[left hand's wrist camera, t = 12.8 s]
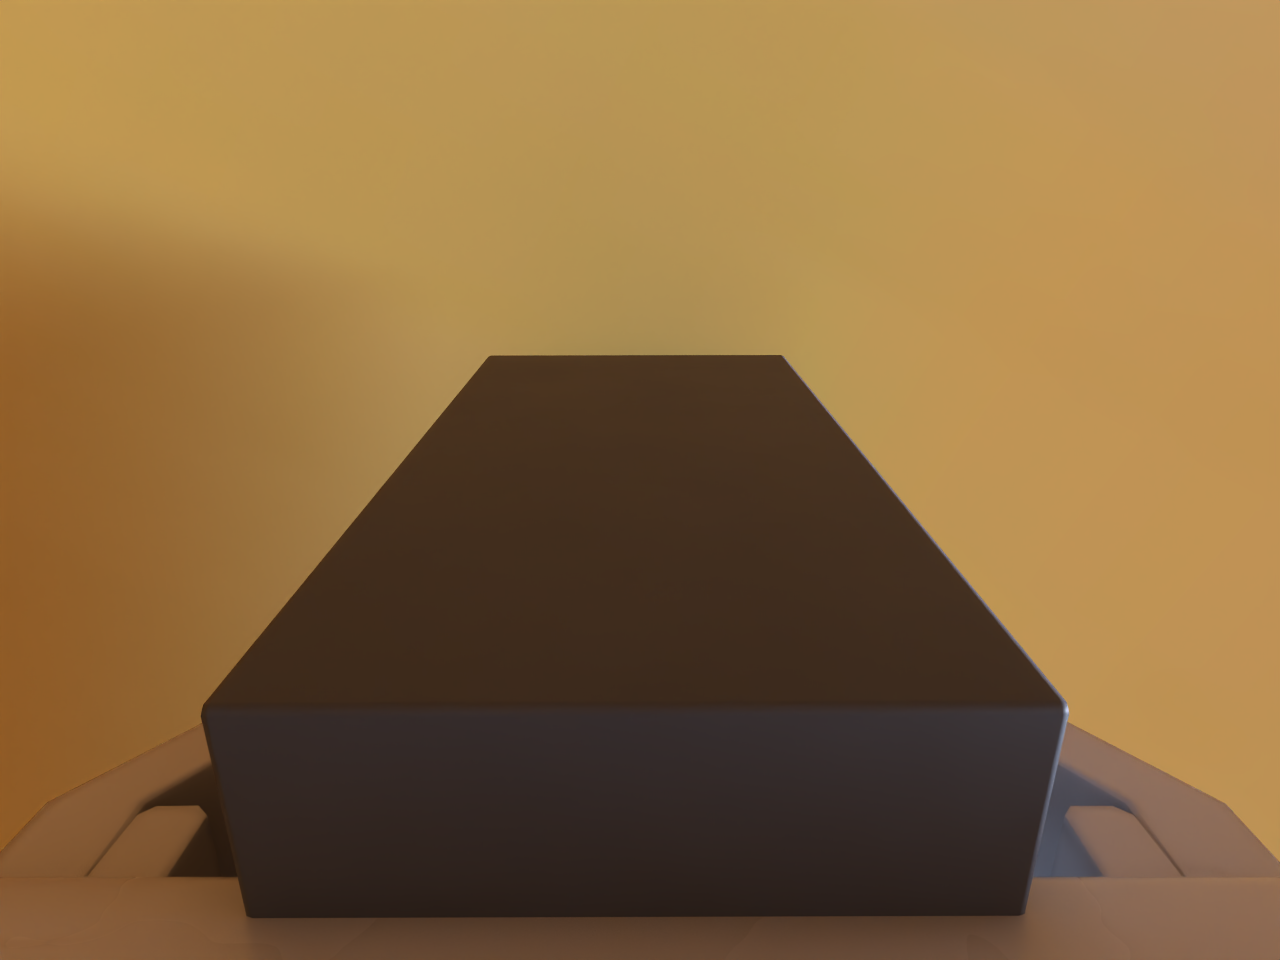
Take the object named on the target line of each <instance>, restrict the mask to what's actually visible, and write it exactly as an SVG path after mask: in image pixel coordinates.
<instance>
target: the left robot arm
mask: <svg viewBox="0 0 1280 960" xmlns="http://www.w3.org/2000/svg"><path fill="white" fill-rule="evenodd" d="M0 960H1280V862H1279V861H1278V860H1277V859H1276V858H1275V857H1274V856H1273V854H1272V853H1271V852H1270V851H1269V850H1268V849H1267V848H1266V847H1265V846H1264V845H1263V844H1262V843H1261V842H1260V840H1259V839H1258V838H1257V837H1256V836H1255V835H1254V834H1253V833H1252V832H1251V831H1250V830H1249V829H1248V828H1247V826H1246V825H1245V824H1244V823H1243V822H1242V821H1241V820H1240V819H1239V818H1238V817H1237V816H1236V815H1235V814H1234V812H1233V811H1232V810H1231V809H1230V808H1229V807H1228V806H1227V805H1226V804H1225V803H1223V802H1221V801H1219V800H1217V799H1215V798H1213V797H1212V796H1210V795H1208V794H1206V793H1204V792H1202V791H1200V790H1198V789H1196V788H1194V787H1192V786H1190V785H1188V784H1186V783H1184V782H1183V781H1181V780H1179V779H1177V778H1175V777H1173V776H1171V775H1169V774H1167V773H1165V772H1163V771H1161V770H1159V769H1157V768H1155V767H1154V766H1152V765H1150V764H1148V763H1146V762H1144V761H1142V760H1140V759H1138V758H1136V757H1134V756H1132V755H1130V754H1128V753H1126V752H1125V751H1123V750H1121V749H1119V748H1117V747H1115V746H1113V745H1111V744H1109V743H1107V742H1105V741H1103V740H1101V739H1099V738H1097V737H1096V736H1094V735H1092V734H1090V733H1088V732H1086V731H1084V730H1082V729H1080V728H1078V727H1076V726H1074V725H1072V724H1070V723H1068V722H1067V725H1066V729H1065V734H1064V738H1063V743H1062V747H1061V752H1060V756H1059V761H1058V766H1057V770H1056V775H1055V779H1054V784H1053V788H1052V793H1051V797H1050V802H1049V806H1048V811H1047V815H1046V820H1045V824H1044V829H1043V833H1042V838H1041V842H1040V847H1039V851H1038V856H1037V860H1036V865H1035V869H1034V874H1033V878H1032V883H1031V888H1030V892H1029V897H1028V901H1027V906H1026V910H1025V914H1022V915H1020V916H789V917H463V918H251V917H248V916H246V912H245V908H244V903H243V899H242V894H241V890H240V886H239V881H238V877H237V873H236V868H235V864H234V859H233V855H232V851H231V846H230V842H229V838H228V833H227V829H226V824H225V820H224V816H223V811H222V807H221V803H220V798H219V794H218V789H217V785H216V781H215V776H214V772H213V767H212V763H211V759H210V754H209V750H208V746H207V741H206V737H205V732H204V728H203V724H200V725H198V726H196V727H194V728H192V729H190V730H188V731H186V732H184V733H182V734H180V735H178V736H176V737H174V738H172V739H170V740H168V741H166V742H165V743H163V744H161V745H159V746H157V747H155V748H153V749H151V750H149V751H147V752H145V753H143V754H141V755H139V756H137V757H135V758H133V759H131V760H129V761H127V762H125V763H123V764H122V765H120V766H118V767H116V768H114V769H112V770H110V771H108V772H106V773H104V774H102V775H100V776H98V777H96V778H94V779H92V780H90V781H88V782H86V783H84V784H82V785H80V786H78V787H77V788H75V789H73V790H71V791H69V792H67V793H65V794H63V795H61V796H59V797H57V798H55V799H53V800H51V801H49V802H47V803H46V804H45V805H44V807H43V808H42V809H41V810H40V811H39V812H38V813H37V814H36V815H35V816H34V817H33V818H32V819H31V820H30V821H29V822H28V823H27V824H26V826H25V827H24V828H23V829H22V830H21V831H20V832H19V833H18V834H17V835H16V836H15V837H14V838H13V839H12V840H11V841H10V842H9V843H8V845H7V846H6V847H5V848H4V849H3V850H2V851H1V852H0Z"/></svg>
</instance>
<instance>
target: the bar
mask: <svg viewBox="0 0 1280 960" xmlns="http://www.w3.org/2000/svg"><path fill="white" fill-rule="evenodd" d="M1068 716H1069V711H1068V706H1067V702H1066V701H1065V700H1064V698H1063V697H1062V696H1061V695H1060V694H1059V692H1058V691H1057V690H1056V689H1055V687H1054V686H1053V685H1052V684H1051V683H1050V681H1049V680H1048V679H1047V678H1046V676H1045V675H1044V674H1043V673H1042V672H1041V670H1040V669H1039V668H1038V667H1037V665H1036V664H1035V663H1034V662H1033V661H1032V659H1031V658H1030V657H1029V656H1028V654H1027V653H1026V652H1025V651H1024V650H1023V648H1022V647H1021V646H1020V645H1019V643H1018V642H1017V641H1016V640H1015V639H1014V637H1013V636H1012V635H1011V634H1010V633H1009V631H1008V630H1007V629H1006V628H1005V626H1004V625H1003V624H1002V623H1001V622H1000V620H999V619H998V618H997V617H996V615H995V614H994V613H993V612H992V611H991V609H990V608H989V607H988V606H987V604H986V603H985V602H984V601H983V600H982V598H981V597H980V596H979V595H978V593H977V592H976V591H975V590H974V589H973V587H972V586H971V585H970V584H969V582H968V581H967V580H966V579H965V578H964V576H963V575H962V574H961V573H960V571H959V570H958V569H957V568H956V567H955V565H954V564H953V563H952V562H951V560H950V559H949V558H948V557H947V556H946V554H945V553H944V552H943V551H942V549H941V548H940V547H939V546H938V545H937V543H936V542H935V541H934V540H933V538H932V537H931V536H930V535H929V534H928V532H927V531H926V530H925V529H924V527H923V526H922V525H921V524H920V523H919V521H918V520H917V519H916V518H915V516H914V515H913V514H912V513H911V512H910V510H909V509H908V508H907V507H906V505H905V504H904V503H903V502H902V501H901V499H900V498H899V497H898V496H897V494H896V493H895V492H894V491H893V490H892V488H891V487H890V486H889V485H888V483H887V482H886V481H885V480H884V479H883V477H882V476H881V475H880V474H879V472H878V471H877V470H876V469H875V468H874V466H873V465H872V464H871V463H870V461H869V460H868V459H867V458H866V457H865V455H864V454H863V453H862V452H861V450H860V449H859V448H858V447H857V446H856V444H855V443H854V442H853V441H852V439H851V438H850V437H849V436H848V435H847V433H846V432H845V431H844V430H843V428H842V427H841V426H840V425H839V424H838V422H837V421H836V420H835V419H834V417H833V416H832V415H831V414H830V413H829V411H828V410H827V409H826V408H825V406H824V405H823V404H822V403H821V402H820V400H819V399H818V398H817V397H816V396H815V394H814V393H813V392H812V391H811V389H810V388H809V387H808V386H807V385H806V383H805V382H804V381H803V380H802V378H801V377H800V376H799V375H798V374H797V372H796V371H795V370H794V369H793V367H792V366H791V365H790V364H789V363H788V361H787V360H786V359H785V358H784V356H781V355H628V356H489V357H488V358H487V359H486V361H485V362H484V363H483V364H482V365H481V367H480V368H479V369H478V370H477V372H476V373H475V374H474V375H473V376H472V378H471V379H470V380H469V381H468V383H467V384H466V385H465V386H464V387H463V389H462V390H461V391H460V392H459V394H458V395H457V396H456V397H455V398H454V400H453V401H452V402H451V403H450V404H449V406H448V407H447V408H446V409H445V411H444V412H443V413H442V414H441V415H440V417H439V418H438V419H437V420H436V422H435V423H434V424H433V425H432V426H431V428H430V429H429V430H428V431H427V433H426V434H425V435H424V436H423V437H422V439H421V440H420V441H419V442H418V444H417V445H416V446H415V447H414V448H413V450H412V451H411V452H410V453H409V455H408V456H407V457H406V458H405V459H404V461H403V462H402V463H401V464H400V465H399V467H398V468H397V469H396V470H395V472H394V473H393V474H392V475H391V476H390V478H389V479H388V480H387V481H386V483H385V484H384V485H383V486H382V487H381V489H380V490H379V491H378V492H377V494H376V495H375V496H374V497H373V498H372V500H371V501H370V502H369V503H368V505H367V506H366V507H365V508H364V509H363V511H362V512H361V513H360V514H359V515H358V517H357V518H356V519H355V520H354V522H353V523H352V524H351V525H350V526H349V528H348V529H347V530H346V531H345V533H344V534H343V535H342V536H341V537H340V539H339V540H338V541H337V542H336V544H335V545H334V546H333V547H332V548H331V550H330V551H329V552H328V553H327V555H326V556H325V557H324V558H323V559H322V561H321V562H320V563H319V564H318V566H317V567H316V568H315V569H314V570H313V572H312V573H311V574H310V575H309V576H308V578H307V579H306V580H305V581H304V583H303V584H302V585H301V586H300V587H299V589H298V590H297V591H296V592H295V594H294V595H293V596H292V597H291V598H290V600H289V601H288V602H287V603H286V605H285V606H284V607H283V608H282V609H281V611H280V612H279V613H278V614H277V616H276V617H275V618H274V619H273V620H272V622H271V623H270V624H269V625H268V626H267V628H266V629H265V630H264V631H263V633H262V634H261V635H260V636H259V637H258V639H257V640H256V641H255V642H254V644H253V645H252V646H251V647H250V648H249V650H248V651H247V652H246V653H245V655H244V656H243V657H242V658H241V659H240V661H239V662H238V663H237V664H236V666H235V667H234V668H233V669H232V670H231V672H230V673H229V674H228V675H227V677H226V678H225V679H224V680H223V681H222V683H221V684H220V685H219V686H218V687H217V689H216V690H215V691H214V692H213V694H212V695H211V696H210V697H209V698H208V700H207V701H206V702H205V703H204V705H203V708H202V712H201V719H202V724H203V728H204V732H205V737H206V741H207V746H208V750H209V754H210V759H211V763H212V767H213V772H214V776H215V781H216V785H217V789H218V794H219V798H220V803H221V807H222V811H223V816H224V820H225V824H226V829H227V833H228V838H229V842H230V846H231V851H232V855H233V859H234V864H235V868H236V873H237V877H238V881H239V886H240V890H241V894H242V899H243V903H244V908H245V912H246V916H248V917H251V918H463V917H789V916H1020V915H1022V914H1025V910H1026V906H1027V901H1028V897H1029V892H1030V888H1031V883H1032V878H1033V874H1034V869H1035V865H1036V860H1037V856H1038V851H1039V847H1040V842H1041V838H1042V833H1043V829H1044V824H1045V820H1046V815H1047V811H1048V806H1049V802H1050V797H1051V793H1052V788H1053V784H1054V779H1055V775H1056V770H1057V766H1058V761H1059V756H1060V752H1061V747H1062V743H1063V738H1064V734H1065V729H1066V725H1067V720H1068Z"/></svg>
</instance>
